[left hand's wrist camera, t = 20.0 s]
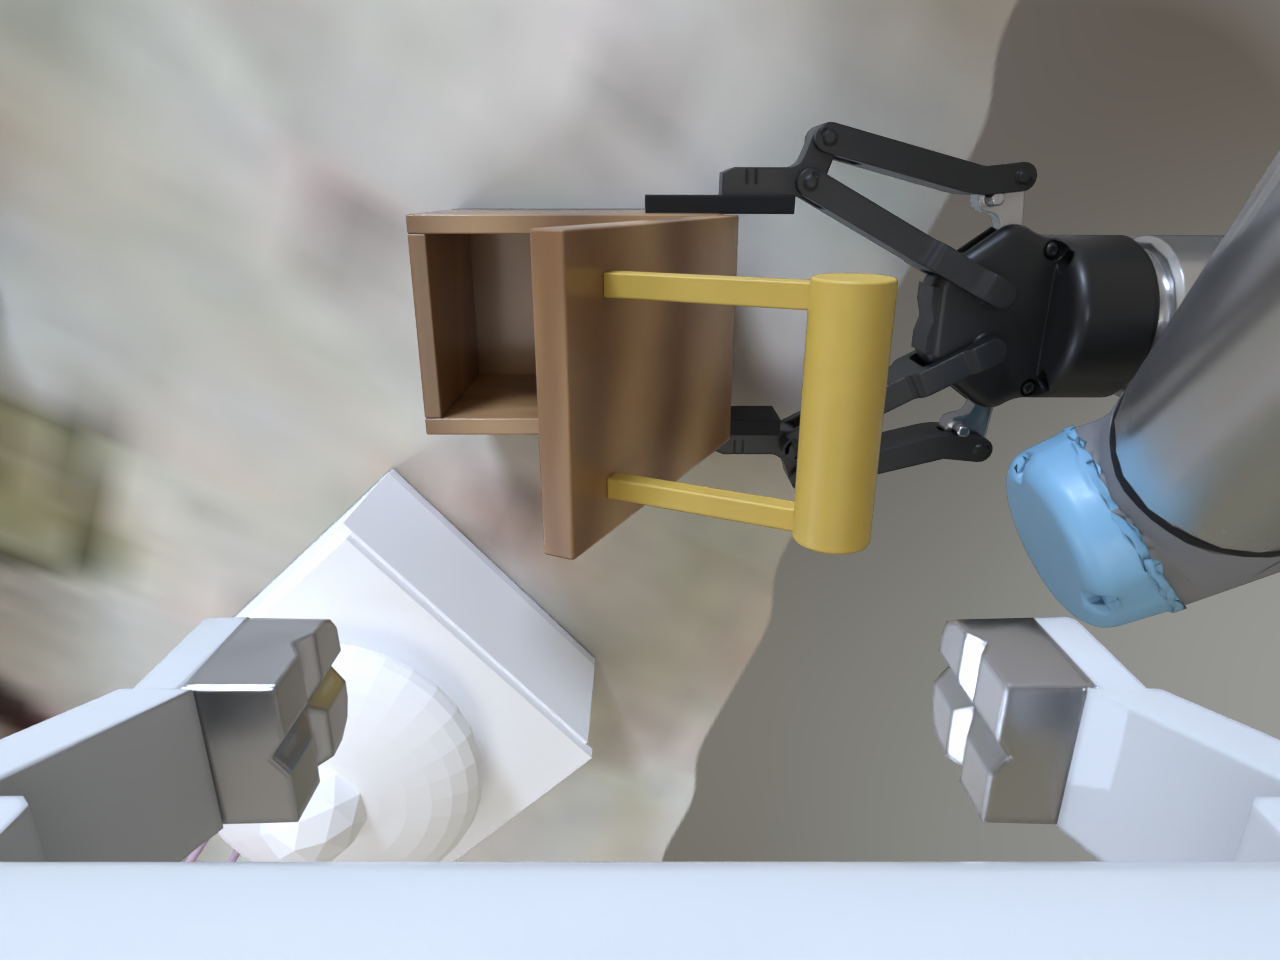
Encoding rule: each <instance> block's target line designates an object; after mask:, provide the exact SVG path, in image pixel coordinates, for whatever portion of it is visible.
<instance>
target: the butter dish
mask: <svg viewBox="0 0 1280 960" xmlns="http://www.w3.org/2000/svg"><path fill="white" fill-rule="evenodd" d="M235 617H249V618H292V619H330V620H331V621H332V622H333V623H334V625H335V626H336V627H337V631H338V637H339V642H340V647H341V651H340V653H339V654H338V656H337V658H336V659H335V661H334V662H333V664H332V667H333V668H334V669H335V670H336V671H337V672H338V673H339V674H340V676H341V677H342V678H343V679H344V680H345V681H346V688H347V695H348V717H347V722H346V726H345V730H344V735H343V739H342V741H341V743H340V745H339V747H338V749H337V751H336V753H335V755H334V756H333V757H332V758H330V759H328V760H327V761H325V762H324V763H322V764H321V765H319V766H318V770H319V777H320V783H319V785H318V787H317V788H316V790H315V792H314V794H313V796H312V798H311V799H310V801H309V803H308V805H307V807H306V809H305V810H304V812H303V814H302V816H301V818H300V819H299V821H298V822H286V823H251V824H223V829H221V830H220V831H219V832H218V834H219V835H220V836H221V837H222V839H223V840H224V841H225V842H226V843H228V844H229V845H230V846H231V847H232V848H233V849H235V850H236V851H237V852H238V853H239V854H240V855H242V856H243V857H244V858H246V859H247V860H249V861H251V862H454V861H455V860H457V859H458V858H459V857H461V856H462V855H463V854H465V853H466V852H467V851H469V850H470V849H471V848H473V847H474V846H475V845H477V844H478V843H479V842H481V841H482V840H483V839H485V838H486V837H487V836H489V835H490V834H491V833H493V832H494V831H495V830H497V829H498V828H499V827H501V826H502V825H503V824H505V823H506V822H507V821H509V820H510V819H511V818H513V817H514V816H515V815H517V814H518V813H519V812H521V811H522V810H523V809H525V808H526V807H527V806H529V805H530V804H531V803H533V802H534V801H535V800H537V799H538V798H539V797H541V796H542V795H543V794H545V793H546V792H547V791H549V790H550V789H551V788H553V787H554V786H555V785H557V784H558V783H559V782H561V781H562V780H563V779H565V778H566V777H567V776H569V775H570V774H571V773H573V772H574V771H575V770H576V769H578V768H579V767H580V766H582V765H583V764H584V763H586V762H587V761H588V760H590V759H591V758H592V748H591V747H589V746H588V745H587V743H588V734H589V723H590V713H591V702H592V691H593V680H594V669H595V658H594V657H592V656H591V655H590V654H589V653H588V652H587V651H586V650H585V649H584V648H583V647H582V646H581V645H580V644H579V643H578V642H577V641H575V640H574V639H573V638H572V637H571V636H570V635H569V634H568V633H567V632H566V631H565V630H564V629H563V628H562V627H561V626H559V625H558V624H557V623H556V622H555V621H554V620H553V619H552V618H551V617H550V616H549V615H548V614H547V613H546V612H545V611H544V610H542V609H541V608H540V607H539V606H538V605H537V604H536V603H535V602H534V601H533V600H532V599H531V598H530V597H529V596H528V595H526V594H525V593H524V592H523V591H522V590H521V589H520V588H519V587H518V586H517V585H516V584H515V583H514V582H513V581H512V580H511V579H509V578H508V577H507V576H506V575H505V574H504V573H503V572H502V571H501V570H500V569H499V568H498V567H497V566H496V565H495V564H493V563H492V562H491V561H490V560H489V559H488V558H487V557H486V556H485V555H484V554H483V553H482V552H481V551H480V550H479V549H478V548H476V547H475V546H474V545H473V544H472V543H471V542H470V541H469V540H468V539H467V538H466V537H465V536H464V535H463V534H462V533H460V532H459V531H458V530H457V529H456V528H455V527H454V526H453V525H452V524H451V523H450V522H449V521H448V520H447V519H446V518H445V517H443V516H442V515H441V514H440V513H439V512H438V511H437V510H436V509H435V508H434V507H433V506H432V505H431V504H430V503H429V502H428V501H426V500H425V499H424V498H423V497H422V496H421V495H420V494H419V493H418V492H417V491H416V490H415V489H414V488H413V487H412V486H410V485H409V484H408V483H407V482H406V481H405V480H404V479H403V478H402V477H401V476H400V475H399V474H398V473H397V472H396V471H395V470H393V469H392V470H391V471H390V472H389V473H387V474H386V475H384V476H383V477H382V478H381V480H380V481H379V482H378V483H377V484H376V485H375V486H374V487H373V488H372V489H371V490H370V491H368V492H367V493H366V494H365V495H364V496H363V497H362V498H361V499H360V500H359V501H358V502H357V503H356V504H355V505H354V506H352V507H351V508H350V509H349V510H348V511H347V512H346V513H345V514H344V515H343V516H342V517H341V518H340V519H339V520H338V521H336V522H335V523H334V524H333V525H332V526H331V527H330V528H329V529H328V530H327V531H326V532H325V533H324V534H323V535H322V536H320V537H319V538H318V539H317V540H316V541H315V542H314V543H313V544H312V545H311V546H310V547H309V548H308V549H307V550H306V551H304V552H303V553H302V554H301V555H300V556H299V557H298V558H297V559H296V560H295V561H294V562H293V563H292V564H291V565H290V566H288V567H287V568H286V569H285V570H284V571H283V572H282V573H281V574H280V575H279V576H278V577H277V578H276V579H275V580H274V581H273V582H271V583H270V584H269V585H268V586H267V587H266V588H265V589H264V590H263V591H262V592H261V593H260V594H259V595H258V596H257V597H255V598H254V599H253V600H252V601H251V602H250V603H249V604H248V605H247V606H246V607H245V608H244V609H243V610H242V611H241V612H239V613H238V614H237V615H236V616H235Z"/></svg>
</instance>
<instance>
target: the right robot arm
mask: <svg viewBox="0 0 1280 960" xmlns="http://www.w3.org/2000/svg"><path fill="white" fill-rule="evenodd" d="M832 160H835V161H839V162H842V163H846V164H849V165H853V166H856V167H860V168H863V169H867V170H870V171H874V172H877V173H881V174H884V175H888V176H891V177H895V178H898V179H902V180H905V181H909V182H912V183H916V184H919V185H923V186H926V187H930V188H933V189H937V190H940V191H944V192H948V193H953V194H970V203H971V206H972V208H973V209H974V210H976V211H978V212H983V213H986V214H987V215H989V217H990V218H991V220H992V227H990V228H989V229H987V230H986V231H984V232H983V233H981V234H980V235H978V236H977V237H975V238H974V239H973V240H971V241H970V242H968V243H967V244H965V245H964V246H962V247H961V248H959V249H958V250H955V249H953V248H951V247H950V246H948V245H946V244H944V243H942V242H940V241H938V240H936V239H934V238H932V237H930V236H929V235H927V234H925V233H924V232H922V231H920V230H919V229H917V228H915V227H914V226H912V225H910V224H909V223H907V222H905V221H904V220H902V219H900V218H899V217H897V216H895V215H894V214H892V213H890V212H889V211H887V210H885V209H884V208H882V207H880V206H879V205H877V204H875V203H874V202H872V201H870V200H869V199H867V198H865V197H864V196H862V195H860V194H859V193H857V192H855V191H854V190H852V189H850V188H849V187H847V186H845V185H844V184H842V183H840V182H839V181H837V180H835V179H834V178H832V177H830V176H829V175H827V172H828V170H829V168H830V165H831V163H832ZM1036 178H1037V171H1036V169H1035V167H1034V165H1032V164H1031V163H1028V162H1018V163H1004V164H993V165H980V164H976V163H973V162H969V161H966V160H962V159H959V158H955V157H952V156H948V155H945V154H942V153H938V152H935V151H931V150H928V149H924V148H921V147H917V146H914V145H910V144H907V143H904V142H900V141H897V140H893V139H890V138H886V137H883V136H879V135H876V134H872V133H869V132H866V131H862V130H859V129H855V128H852V127H848V126H845V125H841V124H838V123H835V122H828V123H825V124H821V125H818V126H816V127H814V128H811V129H810V130H809V131H808V132H807V134H806V136H805V143H804V146H803V148H802V151H801V153H800V156H799V158H798V159H797V161H796V162H795V163H794V164H793V165H791V166H789V167H734V168H730V169H728V170H725V171H723V172H720V179H719V195H645V213H720V214H794V207H795V197H798V198H800V199H801V200H803V201H805V202H806V203H808V204H810V205H812V206H813V207H815V208H817V209H818V210H820V211H822V212H823V213H825V214H827V215H828V216H830V217H832V218H834V219H835V220H837V221H839V222H840V223H842V224H844V225H845V226H847V227H849V228H850V229H852V230H854V231H856V232H857V233H859V234H861V235H862V236H864V237H866V238H867V239H869V240H871V241H872V242H874V243H876V244H878V245H879V246H881V247H883V248H884V249H886V250H888V251H889V252H891V253H893V254H894V255H896V256H898V257H900V258H901V259H903V260H904V261H905V262H906V263H908V264H910V265H911V266H913V267H915V268H916V269H918V270H920V271H921V272H923V273H925V274H927V275H926V277H925V279H924V281H923V282H919V287H918V295H917V300H918V307H919V317H918V320H917V322H916V325H915V328H914V330H913V338H912V347H914V348H915V350H914V351H912V352H910V353H908V354H906V355H905V356H902V357H900V358H899V359H897V360H895V361H894V362H893V364H892V365H891V366H889V369H888V379H887V388H886V397H885V406H884V413H886V412H888V411H890V410H892V409H894V408H896V407H899V406H901V405H903V404H905V403H907V402H909V401H911V400H913V399H916V398H924V397H927V396H930V395H932V394H934V393H936V392H938V391H940V390H942V389H944V388H946V387H948V386H951V387H952V388H953V389H955V390H956V391H957V392H958V393H960V394H961V395H962V396H963V397H965V398H966V399H967V400H966V403H965V405H964V406H963V407H962V408H961V409H960V410H957V411H953V412H949V413H946V414H944V415H943V416H942V417H941V420H940V422H928V423H920V424H915V425H910V426H906V427H902V428H898V429H894V430H889V431H885V432H882V434H881V444H880V453H879V462H878V472H877V474H880V473H885V472H889V471H893V470H897V469H902V468H906V467H910V466H915V465H919V464H923V463H927V462H932V461H936V460H940V459H952V460H963V461H973V462H981V461H984V460H986V459H987V458H988V457H989V456H990V455H991V453H992V444H991V442H989V441H988V440H987V439H986V438H985V437H986V433H987V429H988V425H989V421H990V417H991V414H992V410H993V407H995V406H998V405H1000V404H1002V403H1004V402H1006V401H1008V400H1011V399H1014V398H1019V397H1107V396H1110V395H1113V394H1115V395H1117V396H1119V397H1120V398H1119V400H1118V401H1117V403H1116V404H1115V406H1114V407H1113V409H1112V410H1111V412H1110V413H1109V414H1107V415H1106V416H1104V417H1102V418H1100V419H1098V420H1096V421H1094V422H1091V423H1088V424H1085V425H1082V426H1078V427H1074V426H1073V425H1072V426H1071V427H1069V428H1064V429H1063V430H1062V432H1061V433H1060V434H1058V435H1056V436H1054V437H1051V438H1049V439H1047V440H1045V441H1043V442H1041V443H1039V444H1037V445H1035V446H1033V447H1030V448H1028V449H1026V450H1025V451H1023V452H1021V453H1020V454H1019V455H1017V456H1016V457H1015V459H1014V460H1013V461H1012V463H1011V464H1010V467H1009V469H1008V472H1007V478H1006V488H1007V498H1008V503H1009V508H1010V511H1011V515H1012V518H1013V521H1014V524H1015V527H1016V529H1017V532H1018V535H1019V537H1020V539H1021V541H1022V544H1023V546H1024V548H1025V550H1026V552H1027V554H1028V556H1029V558H1030V560H1031V561H1032V563H1033V565H1034V567H1035V569H1036V570H1037V572H1038V574H1039V575H1040V577H1041V579H1042V580H1043V582H1044V583H1045V585H1046V586H1047V587H1048V589H1049V590H1050V592H1051V593H1052V594H1053V596H1054V597H1055V598H1056V599H1057V600H1058V601H1059V603H1060V604H1061V605H1062V606H1063V607H1064V608H1065V609H1066V610H1067V611H1069V612H1070V613H1071V614H1072V615H1074V616H1075V617H1077V618H1078V619H1080V620H1081V621H1083V622H1086V623H1088V624H1090V625H1093V626H1097V627H1116V626H1120V625H1123V624H1126V623H1130V622H1133V621H1137V620H1140V619H1143V618H1147V617H1150V616H1154V615H1157V614H1160V613H1164V612H1172V613H1174V612H1178V611H1181V610H1183V609H1186V606H1185V605H1187V604H1190V603H1192V602H1195V601H1198V600H1201V599H1204V598H1207V597H1210V596H1212V595H1215V594H1218V593H1221V592H1224V591H1227V590H1229V589H1232V588H1235V587H1238V586H1241V585H1244V584H1247V583H1250V582H1253V581H1255V580H1258V579H1261V578H1264V577H1267V576H1270V575H1272V574H1275V573H1278V572H1280V149H1279V151H1278V153H1277V154H1276V156H1275V157H1274V159H1273V160H1272V162H1271V163H1270V165H1269V167H1268V168H1267V170H1266V171H1265V173H1264V174H1263V176H1262V177H1261V179H1260V181H1259V182H1258V184H1257V185H1256V187H1255V189H1254V190H1253V192H1252V193H1251V195H1250V196H1249V198H1248V199H1247V201H1246V203H1245V204H1244V206H1243V207H1242V209H1241V210H1240V212H1239V213H1238V215H1237V217H1236V218H1235V220H1234V221H1233V223H1232V224H1231V226H1230V228H1229V229H1228V231H1227V232H1226V234H1225V235H1224V236H1217V235H1216V236H1215V235H1145V236H1137V237H1135V238H1133V239H1132V238H1130V237H1128V236H1123V235H1040V234H1037V233H1035V232H1033V231H1031V230H1030V229H1029V228H1027V227H1025V226H1023V225H1022V224H1023V209H1024V194H1025V191H1026V190H1028V189H1029V188H1031V187H1032V186H1033V184H1034V183H1035V181H1036ZM800 415H801V411H799V412H797V413H795V414H793V415H791V416H789V417H787V418H785V419H783V420H780V418H779V417H778V415H777V413H776V412H775V410H774V409H773V407H772V406H731V418H730V439H729V440H728V441H727V442H726V443H724V444H723V445H722V446H721V447H719V448H718V449H717V450H715V451H717V452H719V453H722V454H774V455H777V456H778V457H780V458H781V461H782V464H783V468H784V470H785V472H786V474H787V476H788V478H789V480H790V482H791V484H792V486H793V487H794V488H795V485H796V471H797V457H798V443H799V429H800Z"/></svg>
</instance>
